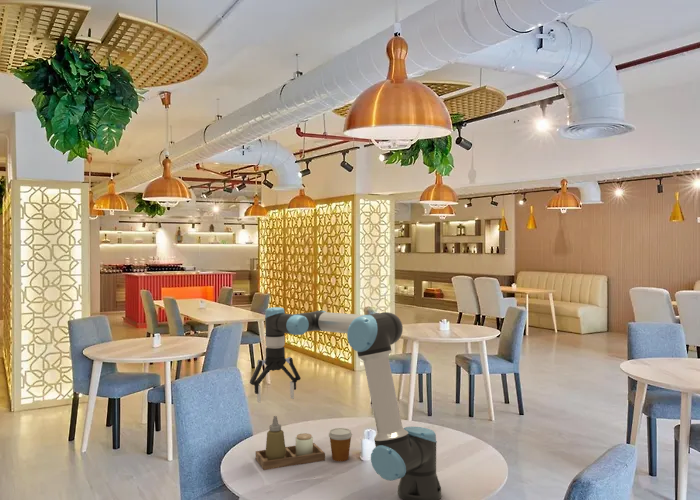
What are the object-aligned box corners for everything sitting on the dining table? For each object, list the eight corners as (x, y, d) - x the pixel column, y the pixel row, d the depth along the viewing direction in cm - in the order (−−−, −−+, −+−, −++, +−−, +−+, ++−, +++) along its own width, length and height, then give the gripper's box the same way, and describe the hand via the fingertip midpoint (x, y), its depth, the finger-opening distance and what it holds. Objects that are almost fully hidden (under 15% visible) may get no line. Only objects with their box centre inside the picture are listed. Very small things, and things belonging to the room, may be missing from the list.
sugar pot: (315, 458, 239) (315, 437, 239) (298, 461, 237) (298, 439, 237) (309, 453, 246) (309, 432, 246) (293, 455, 243) (293, 434, 243)
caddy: (324, 462, 238) (324, 452, 238) (263, 472, 228) (263, 462, 228) (313, 452, 250) (313, 442, 250) (255, 461, 240) (255, 451, 240)
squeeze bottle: (263, 459, 239) (262, 415, 238) (282, 456, 242) (281, 412, 242) (268, 466, 231) (268, 420, 231) (288, 463, 235) (288, 417, 234)
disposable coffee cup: (349, 466, 234) (349, 435, 234) (326, 464, 236) (326, 434, 236) (354, 457, 244) (354, 428, 244) (331, 455, 246) (331, 427, 245)
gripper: (302, 342, 244) (302, 394, 245) (241, 347, 235) (242, 401, 235) (308, 345, 237) (308, 398, 238) (246, 350, 228) (246, 405, 228)
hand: (275, 400), depth 236 cm, fingers open, 13 cm apart
